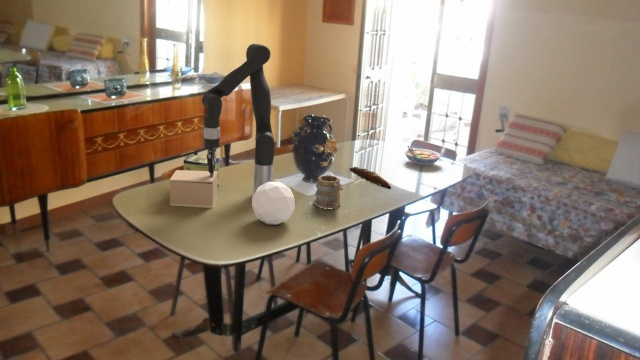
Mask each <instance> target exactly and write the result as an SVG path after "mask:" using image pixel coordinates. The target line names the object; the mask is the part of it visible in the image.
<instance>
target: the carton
mask: <svg viewBox="0 0 640 360" xmlns="http://www.w3.org/2000/svg"><path fill="white" fill-rule="evenodd" d="M217 199H218V187H217V175H216V177H215V179H214V181H213V183H204V182H175V181H170V180H169V206H176V207H190V208H191V207H193V208H208V209H212V208H214V206H215V204H216V201H217Z"/></svg>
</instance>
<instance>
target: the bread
mask: <svg viewBox="0 0 640 360" xmlns="http://www.w3.org/2000/svg"><path fill="white" fill-rule="evenodd" d="M349 170H350V171H352V172H353V173H355V174H357V175H359V176H361V177H363V178H365V179H366V180H369V181H371V180H372V181H371V182H373V181H374V182H373V183H375V182H376V184H377V183H379V184H378V185H380V184H381V185H380V186H382V185H383V186H382V187H384V186H386V187H385V188H387V187H389V188H388V189H390V188H392V187H391V185H390V184H389V182H388V181H387V180H385V178H383V177H382V176H379V174H378V173H376V172H374V171H371V170H368V169H366V168H361V167H358V166H353V167H350V168H349Z"/></svg>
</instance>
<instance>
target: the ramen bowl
mask: <svg viewBox="0 0 640 360" xmlns="http://www.w3.org/2000/svg"><path fill="white" fill-rule="evenodd" d="M407 148H408V149H405V150H404V154H405V156H406V158H407V159H408V160H409V161H410V162H411V163H412V164H415V165H417V166H419V167H426V166H431V165H433V164H435V163H436V162H438V161H439V159H440V158H441V154H440V153H439V152H437V151H434V150H430V149H427V148H413V147H412V146H409V145H407Z"/></svg>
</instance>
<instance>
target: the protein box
mask: <svg viewBox="0 0 640 360" xmlns="http://www.w3.org/2000/svg"><path fill="white" fill-rule="evenodd" d="M183 170H189V171H209V165H207V156H202V155H197V154H191V155H190V156H189V157H187V158H185V159H183ZM214 171H218V173H217V188H219V186H220V185H219V184H220V183H219V182H220V180H219V179H220V158H219V157H216V161H215V170H214Z"/></svg>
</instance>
